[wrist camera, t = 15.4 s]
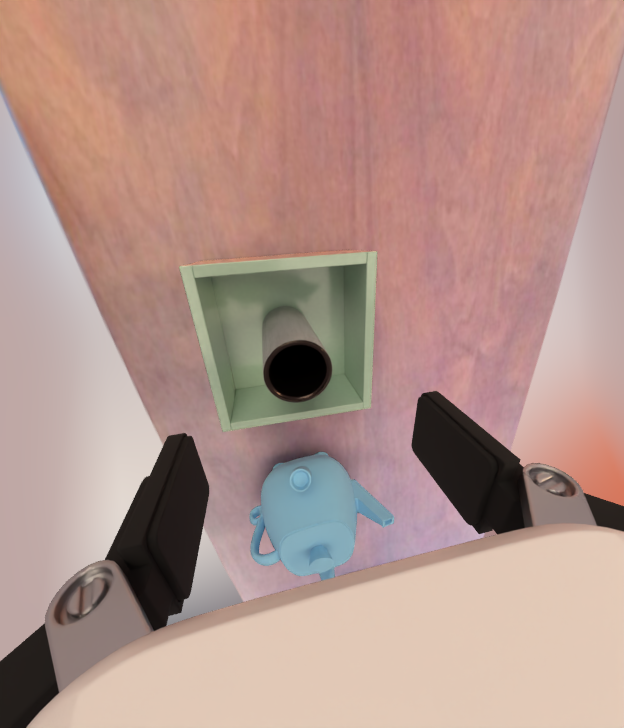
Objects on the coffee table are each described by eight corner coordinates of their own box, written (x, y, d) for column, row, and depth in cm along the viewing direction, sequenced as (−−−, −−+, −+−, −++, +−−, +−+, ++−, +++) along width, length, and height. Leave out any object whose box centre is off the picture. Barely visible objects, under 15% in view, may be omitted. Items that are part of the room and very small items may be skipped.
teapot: (375, 463, 38) (417, 543, 27) (318, 521, 41) (336, 613, 31) (290, 418, 32) (304, 499, 22) (231, 491, 35) (218, 591, 25)
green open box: (230, 391, 29) (222, 432, 22) (200, 260, 23) (178, 266, 17) (348, 375, 31) (371, 408, 24) (348, 249, 25) (377, 250, 19)
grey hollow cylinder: (265, 352, 26) (268, 408, 17) (258, 307, 25) (257, 344, 15) (309, 346, 27) (334, 397, 18) (305, 302, 25) (331, 335, 16)
